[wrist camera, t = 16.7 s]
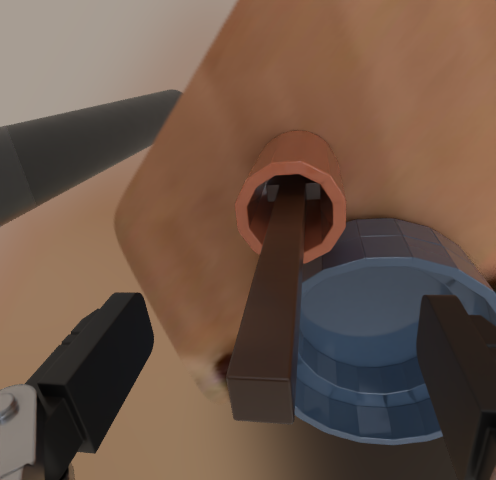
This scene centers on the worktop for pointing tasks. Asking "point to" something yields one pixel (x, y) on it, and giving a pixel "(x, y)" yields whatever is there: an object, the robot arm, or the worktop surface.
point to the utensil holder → (317, 211)
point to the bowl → (377, 329)
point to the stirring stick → (273, 311)
